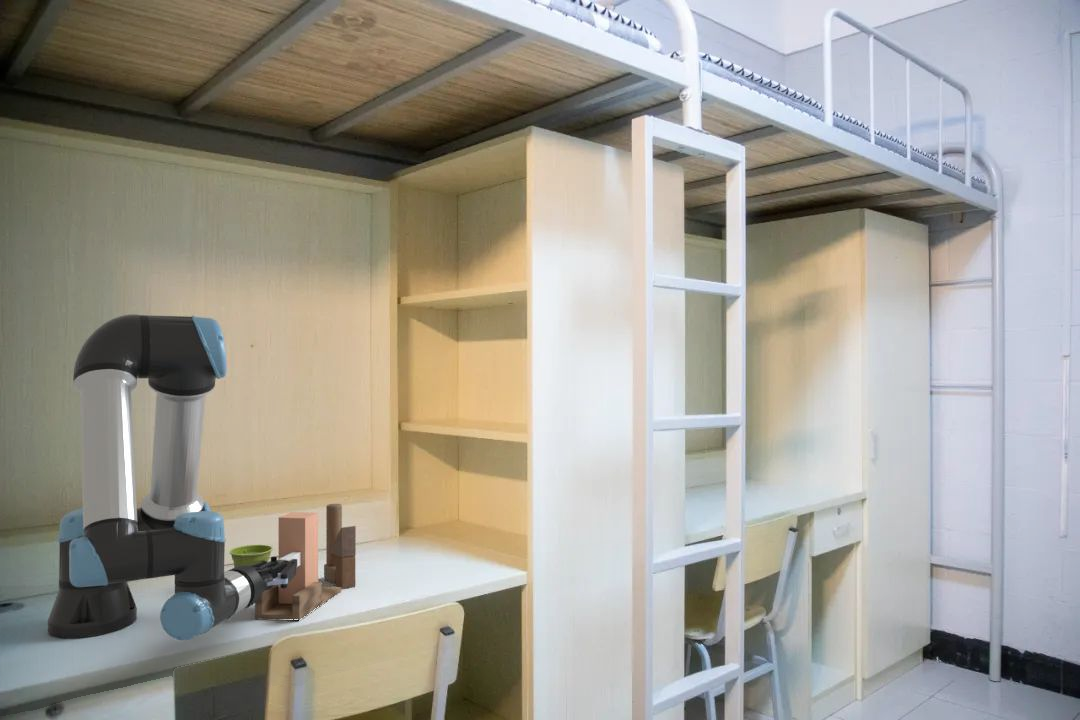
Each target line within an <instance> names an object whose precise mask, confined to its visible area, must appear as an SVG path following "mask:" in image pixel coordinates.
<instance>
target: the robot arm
mask: <svg viewBox="0 0 1080 720" xmlns="http://www.w3.org/2000/svg"><path fill="white" fill-rule="evenodd" d="M225 346H226V345H225V340H224V335H223V331H222V328H221V325H220V323H219V322H218V321H217V320H216V319H214V318H211V317H203V316H202V317H201V316H200V317H199V316H195V315H191V316H187V315H186V316H183V315H178V316H177V315H152V314H151V315H148V314H147V315H144V314H142V315H141V314H123V315H121V316H117V317H115V318H112V319H109V320H108V321H106V322H104V323H103V324H102V325H100V326H99V327H98V328H96V329H95V330H94V331H93V332H92V333H91V334H90V336H88V337H87V339H86V340H85V342H84V343H83V345H82V346H81V347H80V351H79V352H78V354H77V357H76V359H75V362H74V366H73V383H72V384H73V388H74V390H75V391H76V392H77V393H79V394H80V419H81V420H80V424H81V426H80V427H81V430H80V431H81V470H82V472H81V473H82V474H81V476H82V477H81V478H82V483H81V484H82V507H81V508H79V509H76V510H72V511H70V512H68V513H66V514H65V515H64V516H63V517H62V518H61V519H60V521H59V522H60V523H59V529H58V530H59V531H58V532H59V533H58V538H57V542H58V543H59V544H58V547H59V550H58V554H59V555H58V590H57V591H58V592H57V595H56V597H55V600H54V602H53V606H52V608H51V610H50V611H51V612H50V613H49V617H48V619H47V633H48V635H50V636H52V637H56V638H63V639H64V638H66V639H67V638H68V639H70V638H71V639H73V638H76V639H77V638H87V637H92V636H99V635H104V634H109V633H111V632H115V631H118V630H121V629H124V628H127V627H128V626H131V625H132V624H133V623H135V622H136V621H137V618H138V616H137V615H138V612H137V610H138V608H137V604H136V602H135V599H134V597H133V594H132V592H131V588H130V585H129V583H128V582H133V581H138V580H144V579H154V578H155V579H156V578H161V577H170V576H174V594H173V595H172V596H170V597H169V598H168V599H167V600H166V601H165V602H164V604H163V606H162V608H161V611H160V617H159V618H160V619H159V620H160V623H161V626H162V629H163V630H164V631H165V633H166V634H167V635H168V636H170V637H171V638H172V639H175V640H178V641H179V640H180V641H187V640H191V639H194V638H195V637H198V636H199V635H203V634H206V633H208V632H210V630H211V629H213V628H215V627H216V626H217V625H219V624H221V623H222V622H227V620H228V619H230V618H231V617H233V616H235V615H236V614H238V613H241V612H242V611H245V610H246V609H248V608H249V607H251V606H253V605H255V603H256V602H257V601H258V600H259V598H260V597H261V595H262V593H263V592H264V591H265V590H268V589H271V588H272V587H273V585H278V587H280V586H281V588H287V587H288V583H289V582H290V581H291V580H292V579H293V577H294V576H295V575H296V567H298V566H300V565H301V552H292V553H290V554H288V555H286V556H284V557H282V558H280V559H279V558H278V556H270V560H269V561H268V563H267V561H265V560H264V561H261V562H258V563H254V564H251V565H248V566H246V565H241V566H237V567H235V568H234V567H233V568H231V569H228V570H226V571H225V553H226V552H225V543H226V537H225V524H224V523H225V521H224V520H225V519H224V516H222V514H221V513H219V512H217V511H211V507H210V505H209V504H208V503H207V502H205V501H204V497H203V495H201V494H200V493H199V492H198V483H199V471H200V461H201V449H202V440H203V439H202V436H203V428H204V427H203V426H204V416H205V415H204V414H205V407H206V406H205V403H206V396H207V394H210V393H211V392H212V391H214V389H215V387H216V379H217V380H220V379H222V378H224V377H225V376H226V374H227V353H226V347H225ZM138 379H148V380H147V383H148V386H149V388H150V389H151V390H152V391H154V392H155V393H156V397H155V413H154V415H155V416H154V428H153V429H154V431H153V445H152V458H151V459H152V460H151V476H150V489H149V490H150V492H149V493H147V494H145V496H143V497H142V500H141V503H140V507H137V506H138V505H137V486H136V485H137V483H136V465H135V462H136V461H135V447H134V446H135V445H134V428H133V427H134V425H133V405H132V392H133V391H134V389H136V387H138V386H137V385H138Z"/></svg>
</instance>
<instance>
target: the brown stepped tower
mask: <svg viewBox="0 0 1080 720" xmlns="http://www.w3.org/2000/svg"><path fill="white" fill-rule="evenodd" d="M325 509H326V512H325V514H326V515H325V517H326V526H325V528H326V529H325V531H326V540H325V541H326V543H325V545H326V549H325V550H326V551H325V553H326V561H325V562H326V563H325V564H324V565H323V579H324V580H325V581H327V582H329V583H331V584H332V585H335V587H341V590H344V589H345V588H346V589H351V588H355V587H356V545H357V544H356V540H357V539H356V531H357V530H356V529H357V526H356V525H352V526H344V527H343V506H342V504H341V503H329V504H326V508H325ZM350 587H351V588H350ZM346 589H345V590H346Z"/></svg>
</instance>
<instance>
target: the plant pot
mask: <svg viewBox="0 0 1080 720" xmlns="http://www.w3.org/2000/svg"><path fill="white" fill-rule="evenodd" d="M273 550H274V548H273V546H271V545H269V544H268V545H267V544H249V545H248V544H247V545H241V546H237V547H234V548H231V549H230V550H229V555H230V556H231V559H232V561H233V568H235V567H237V566H241V565H246V566H248V565H251V564H254V563H258V562H261V561H264V560H265V561H267V563H268V562H270V560H269V559H270V558H271V552H272V551H273Z"/></svg>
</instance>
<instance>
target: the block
mask: <svg viewBox="0 0 1080 720" xmlns="http://www.w3.org/2000/svg"><path fill="white" fill-rule="evenodd" d="M292 552H301V565H300V566H298V567H296V575H295V576H294V577H293V579H292V580H291V581H290V582H289V583H288V587H287V588H281V586H280V587H278V603H281V604H292V596H293V595H294V594H296V593H298V592H299V591H301V590H303V589H304V588H306V587H307V586H309V585H311V584H312V583H314V582H319V512H304V511H303V512H302V511H301V512H298V511H297V512H296V511H293V512H292V511H291V512H289V513H287V514H284V515H280V516H278V559H280V558H282V557H284V556H286V555H288V554H290V553H292Z"/></svg>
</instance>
